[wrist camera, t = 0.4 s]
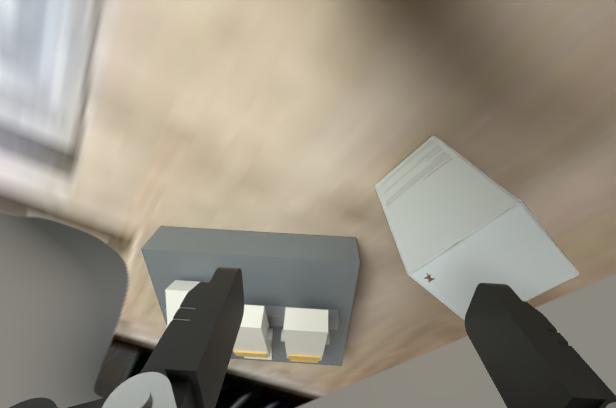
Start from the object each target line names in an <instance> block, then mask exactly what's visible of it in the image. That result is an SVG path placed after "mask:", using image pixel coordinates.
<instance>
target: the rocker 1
mask: <svg viewBox="0 0 616 408" xmlns="http://www.w3.org/2000/svg"><path fill="white" fill-rule="evenodd" d="M198 283H200V282H199V281H183V280H175V281H174V282H173V283H172V284H171V285H170V286H169V287H168V288H167V289H165V294H166V310H167V325H166V329H167V327H168V325H169V323H170V322H171V321H172V320H173V317H174V315H175V313H176V312H177V310H178V309H179V308H180V305H181V303H182V301H183V300H184V298H185V296H186V295H187V293H188V292H189V291H190V290H191V289H193V288H194V287H195V286H196V285H197V284H198ZM166 329H165V330H166Z"/></svg>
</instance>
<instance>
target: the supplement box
mask: <svg viewBox="0 0 616 408" xmlns="http://www.w3.org/2000/svg"><path fill="white" fill-rule="evenodd" d="M375 189H376V192H377V195H378V197H379V200H380V203H381V205H382V208H383V210H384V213H385V216H386V219H387V221H388V224H389V227H390V229H391V232H392V235H393V237H394V240H395V243H396V245H397V248H398V251H399V253H400V256H401V259H402V262H403V264H404V267H405V270H406V273H407V275H408V276H409V277H410V278H412V279H413V280H414V281H416V282H417V283H418V284H419V285H421V286H422V287H423V288H425V289H426V290H427V291H429V292H430V293H431V294H432V295H434V296H435V297H436V298H437V299H438V300H440V301H441V302H442V303H443V304H444V305H446V306H447V307H448V308H449V309H451V310H452V311H453V312H454V313H456V314H457V315H458V316H459V317H460V318H462V319H463V320H464V321H465V315H466V312H467V310H468V307H469V305H470V302H471V300H472V297H473V295H474V292H475V290H476V287H477V286H478V284H480V283H495V284H506V285H508V286H510V287H511V288H512V290H513V291H514V292H515V293H516V294H517V295H518V297H519V298H520V299H521V300H522V301H525V302H526V301H528V300H530V299H532V298H534V297H536V296H538V295H540V294H542V293H544V292H546V291H547V290H549V289H551V288H553V287H555V286H557V285H560V284H562V283H564V282H566V281H568V280H570V279H572V278H574V277H576V276H578V275H579V274H580V273H579V272H578V271H577V270H576V269H575V267H574V266H573V265H572V264H571V262H570V261H569V260H568V259H567V257H566V256H565V255H564V254H563V252H562V251H561V250H560V248H559V247H558V246H557V245H556V243H555V242H554V241H553V239H552V238H551V237H550V236H549V234H548V233H547V232H546V230H545V229H544V228H543V227H542V225H541V224H540V223H539V221H538V220H537V219H536V218H535V216H534V215H533V214H532V213H531V211H530V210H529V209H528V208H527V206H526V205H525V204H524V202H523V201H521V200H520V199H518V198H517V197H515V196H514V195H512V194H511V193H509V192H508V191H507V190H505V189H504V188H502V187H501V186H500V185H499V184H497V183H496V182H495V181H493V180H492V179H491V178H490V177H488V176H487V175H486V174H484V173H483V172H482V171H481V170H479V169H478V168H477V167H476V166H474V165H473V164H472V163H471V162H469V161H468V160H467V159H465V158H464V157H463V156H462V155H460V154H459V153H458V152H457V151H455V150H454V149H453V148H451V147H450V146H449V145H447V144H446V143H444V142H443V141H442V140H441V139H439V138H438V137H436V136H435V135H433V136H431V137H430V138H429V139H428V140H427V141H426V142H425V143H423V144H422V145H421V146H420V147H419V148H417V149H416V150H415V151H414V152H413V153H412V154H411V155H409V156H408V157H407V158H406V159H405V160H404V161H402V162H401V163H400V164H399V165H398V166H397V167H395V168H394V169H393V170H392V171H391V172H390V173H389V174H387V175H386V176H385V177H384V178H383V179H382V180H380V181H379V182H378V183H377V184H376V185H375Z"/></svg>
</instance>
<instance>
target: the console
mask: <svg viewBox="0 0 616 408" xmlns="http://www.w3.org/2000/svg"><path fill="white" fill-rule="evenodd" d="M141 250H142V253H143V256H144V259H145V262H146V265H147V268H148V271H149V274H150V277H151V280H152V283H153V286H154V289H155V292H156V295H157V298H158V301H159V304H160V307H161V310H162V313H163V316H164V319H165V322H166V325H167V310H166V294H165V289H167V288H168V287H169V286H170V285H171V284H172V283H173V282H174V281H175V280H183V281H199V282H210V281H211V279H212V277H213V275H214V273H215V271H216V269H217V268H218V267H226V268H240V269H241V271H242V279H243V291H244V305H257V306H265V311H266V315H267V319H268V323H269V328H273V336H272V343H271V351H270V357H268V358H260V357H245V356H236V355H235V353H234V352H233V351H232V354H231V359H246V360H261V361H276V362H291V363H306V364H321V365H336V366H342V363H343V357H344V351H345V346H346V340H347V334H348V328H349V323H350V317H351V311H352V306H353V300H354V294H355V288H356V283H357V277H358V271H359V265H360V258H359V253H358V247H357V241H356V238H355V237H338V236H321V235H304V234H286V233H269V232H252V231H235V230H218V229H200V228H183V227H166V226H161V227H160V228H159V229H158V230H157V231H156V232H155V233H154V235H153V236H152V237H151V238H150V239H149V240H148V241H147V243H146V244H145V245H144V246H143V247H142V248H141ZM286 307H288V308H304V309H320V310H328V332H330V343H329V345H326V344H325V348H324V352H323V356H322V360H321V361H305V360H290V359H288V358H287V355H286V347H285V342H281V332H282V329H283V327H284V318H285V309H286Z"/></svg>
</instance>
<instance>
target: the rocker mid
mask: <svg viewBox="0 0 616 408" xmlns="http://www.w3.org/2000/svg"><path fill="white" fill-rule="evenodd" d="M272 336H273V328H269V323H268V319H267V315H266V311H265V306H257V305H244V314H243V319H242V322H241V325H240V329H239V332H238V335H237V338H236V341H235V345H234V348H233V352H234V353H235V355H236V356H245V357H260V358H268V357H270V351H271V343H272Z"/></svg>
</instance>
